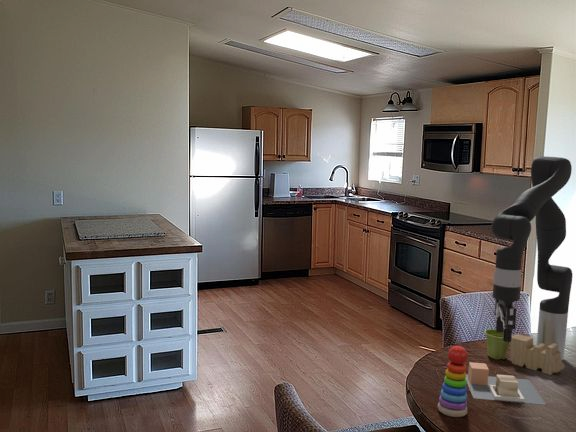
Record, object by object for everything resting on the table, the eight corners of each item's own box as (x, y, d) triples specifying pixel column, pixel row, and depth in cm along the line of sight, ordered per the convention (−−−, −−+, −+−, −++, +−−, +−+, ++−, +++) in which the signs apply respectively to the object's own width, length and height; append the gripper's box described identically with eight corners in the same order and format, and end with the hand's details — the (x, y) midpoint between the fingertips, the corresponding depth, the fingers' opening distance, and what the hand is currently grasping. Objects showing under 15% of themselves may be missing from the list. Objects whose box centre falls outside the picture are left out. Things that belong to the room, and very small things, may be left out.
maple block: (495, 390, 167) (496, 374, 166) (512, 392, 166) (513, 375, 165) (499, 397, 162) (500, 381, 161) (517, 399, 161) (518, 382, 160)
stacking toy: (451, 420, 149) (456, 353, 147) (431, 408, 156) (435, 343, 154) (473, 415, 152) (478, 349, 150) (452, 403, 159) (456, 339, 157)
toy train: (557, 380, 179) (560, 350, 178) (505, 364, 191) (508, 336, 190) (563, 375, 183) (566, 346, 182) (512, 360, 195) (515, 333, 194)
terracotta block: (467, 377, 176) (469, 362, 175) (484, 378, 175) (485, 363, 175) (470, 383, 171) (471, 368, 170) (487, 385, 170) (488, 369, 170)
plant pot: (513, 355, 200) (515, 332, 199) (507, 363, 192) (509, 339, 191) (486, 350, 204) (487, 327, 204) (480, 357, 197) (481, 333, 196)
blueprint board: (463, 377, 179) (463, 371, 178) (528, 382, 176) (529, 376, 175) (473, 401, 161) (473, 394, 161) (546, 408, 158) (546, 401, 158)
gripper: (527, 289, 155) (523, 345, 157) (513, 278, 169) (509, 329, 171) (499, 288, 156) (495, 344, 158) (488, 277, 170) (484, 328, 172)
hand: (503, 336), depth 165 cm, fingers open, 8 cm apart
